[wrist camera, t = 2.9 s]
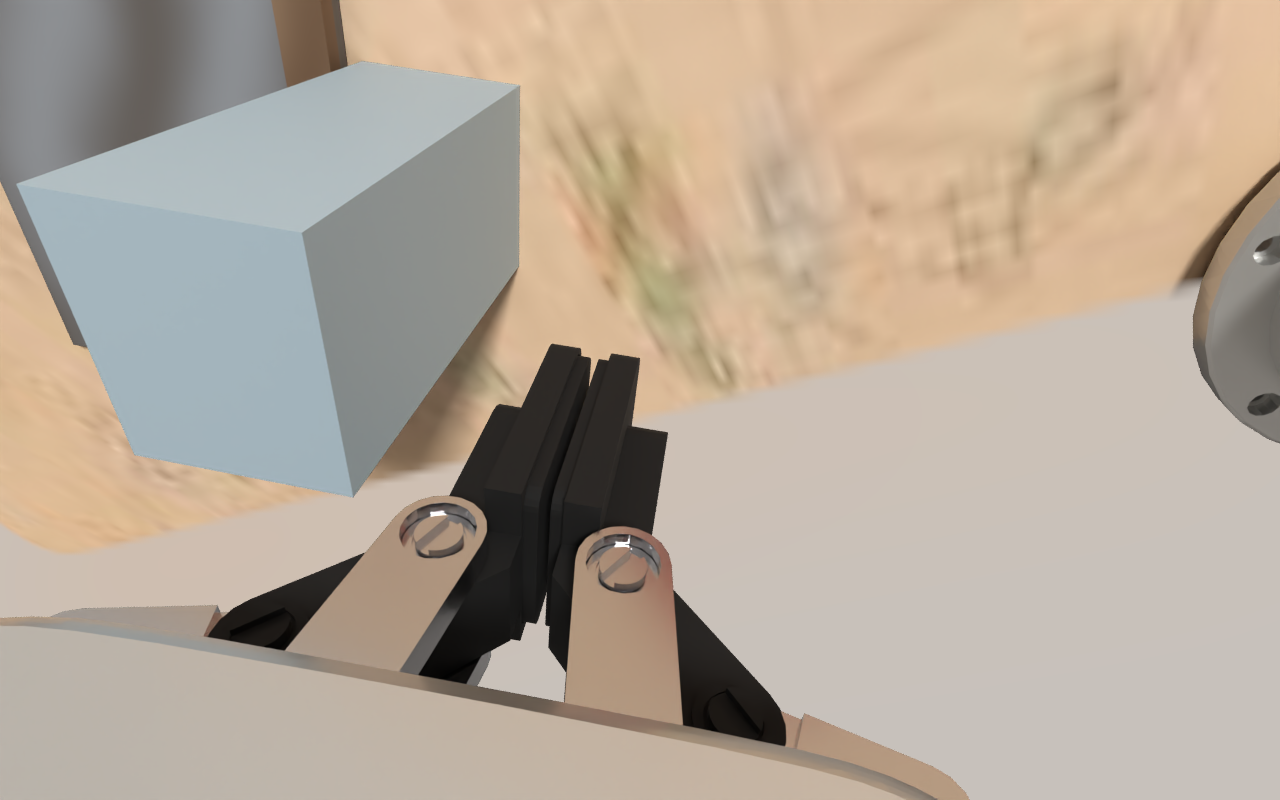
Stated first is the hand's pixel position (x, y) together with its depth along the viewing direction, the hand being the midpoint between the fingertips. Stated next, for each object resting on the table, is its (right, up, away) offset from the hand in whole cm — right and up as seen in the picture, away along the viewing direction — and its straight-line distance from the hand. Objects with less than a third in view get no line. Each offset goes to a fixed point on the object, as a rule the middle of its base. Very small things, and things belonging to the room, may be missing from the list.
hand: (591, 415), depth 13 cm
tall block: (-5, +8, +10) cm, 14 cm away
